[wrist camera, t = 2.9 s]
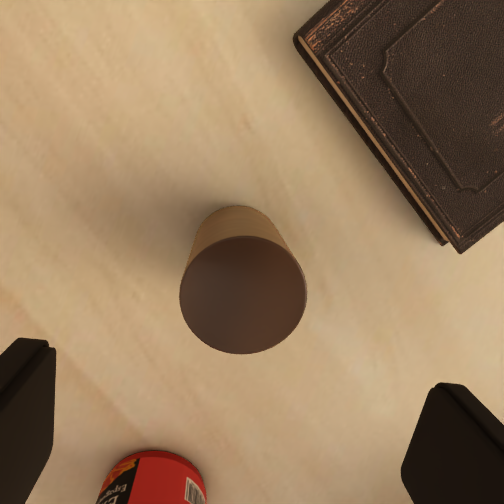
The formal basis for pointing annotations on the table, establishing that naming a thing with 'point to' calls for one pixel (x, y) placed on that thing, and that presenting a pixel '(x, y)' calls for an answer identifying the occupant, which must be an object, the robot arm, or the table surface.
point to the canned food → (153, 481)
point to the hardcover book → (422, 100)
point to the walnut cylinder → (241, 283)
